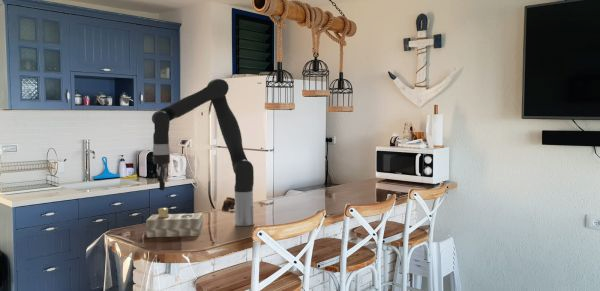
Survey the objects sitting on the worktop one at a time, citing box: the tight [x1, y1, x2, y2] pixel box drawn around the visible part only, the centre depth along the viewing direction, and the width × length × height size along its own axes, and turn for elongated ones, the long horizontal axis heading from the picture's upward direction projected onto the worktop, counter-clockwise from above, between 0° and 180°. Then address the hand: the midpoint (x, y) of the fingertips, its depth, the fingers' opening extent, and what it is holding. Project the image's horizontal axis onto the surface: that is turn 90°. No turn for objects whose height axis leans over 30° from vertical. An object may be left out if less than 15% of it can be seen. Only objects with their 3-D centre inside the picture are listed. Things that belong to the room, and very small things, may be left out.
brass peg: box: [157, 207, 169, 218], centre depth 227 cm, size 4×4×7 cm
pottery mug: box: [221, 197, 235, 212], centre depth 281 cm, size 12×10×8 cm
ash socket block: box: [145, 212, 204, 238], centre depth 228 cm, size 24×12×8 cm, turn 93°
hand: (162, 189), depth 226 cm, fingers closed
